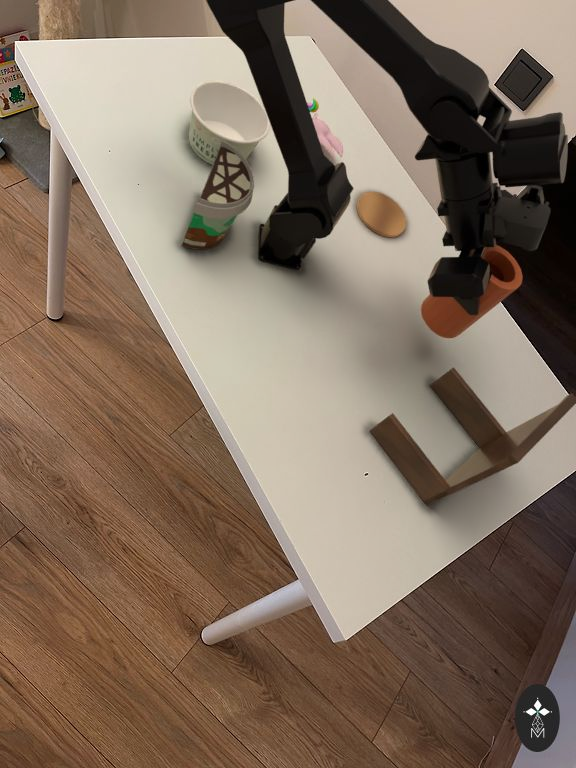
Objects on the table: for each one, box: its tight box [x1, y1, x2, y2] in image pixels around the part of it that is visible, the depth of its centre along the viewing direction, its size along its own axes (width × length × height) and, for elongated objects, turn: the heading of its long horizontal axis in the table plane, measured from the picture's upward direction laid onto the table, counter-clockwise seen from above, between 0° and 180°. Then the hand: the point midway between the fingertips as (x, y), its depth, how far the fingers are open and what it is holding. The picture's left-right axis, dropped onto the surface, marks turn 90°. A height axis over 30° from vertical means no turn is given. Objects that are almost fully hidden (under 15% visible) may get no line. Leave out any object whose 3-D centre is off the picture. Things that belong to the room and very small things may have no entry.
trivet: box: [356, 191, 407, 238], centre depth 98 cm, size 9×9×1 cm
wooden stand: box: [369, 367, 576, 506], centre depth 74 cm, size 12×15×17 cm
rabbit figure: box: [307, 98, 344, 159], centre depth 98 cm, size 6×6×15 cm
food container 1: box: [188, 80, 271, 166], centre depth 88 cm, size 12×12×6 cm
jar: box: [420, 244, 524, 339], centre depth 78 cm, size 7×7×12 cm
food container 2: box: [181, 140, 255, 250], centre depth 79 cm, size 12×6×10 cm, turn 168°
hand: (480, 296), depth 77 cm, fingers closed on jar, 7 cm apart
